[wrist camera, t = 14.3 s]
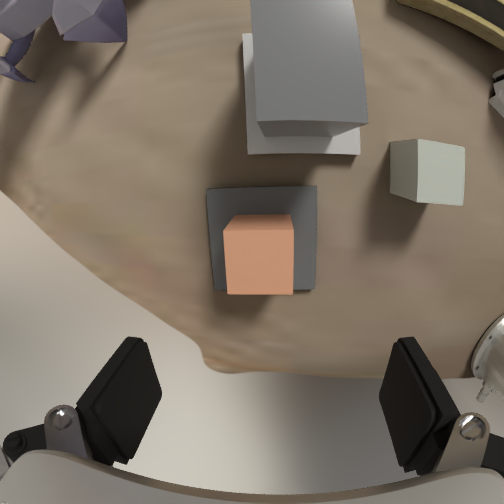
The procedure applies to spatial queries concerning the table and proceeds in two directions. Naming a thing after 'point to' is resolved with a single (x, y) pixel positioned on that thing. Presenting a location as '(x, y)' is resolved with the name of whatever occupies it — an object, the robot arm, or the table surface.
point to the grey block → (427, 171)
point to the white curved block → (498, 92)
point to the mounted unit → (304, 78)
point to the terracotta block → (259, 254)
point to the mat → (259, 203)
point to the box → (468, 16)
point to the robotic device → (58, 25)
